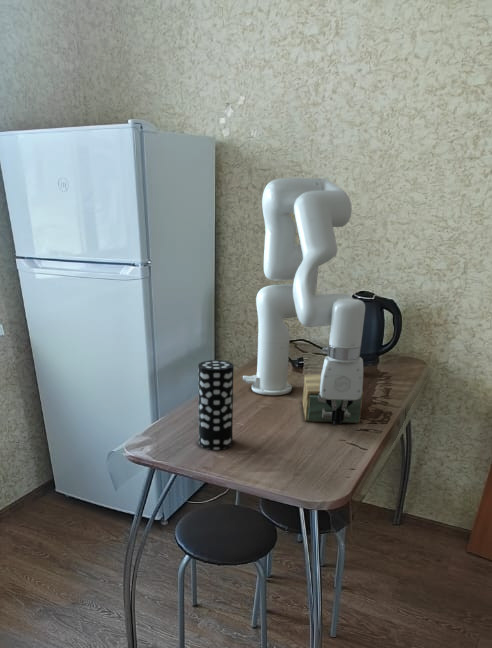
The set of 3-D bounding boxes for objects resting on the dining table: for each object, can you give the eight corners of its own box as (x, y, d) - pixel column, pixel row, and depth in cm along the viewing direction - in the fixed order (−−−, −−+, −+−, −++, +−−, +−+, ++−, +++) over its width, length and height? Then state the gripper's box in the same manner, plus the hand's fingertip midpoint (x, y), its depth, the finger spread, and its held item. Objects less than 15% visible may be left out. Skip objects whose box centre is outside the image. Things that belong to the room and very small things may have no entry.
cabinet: (359, 422, 156) (363, 392, 152) (305, 421, 157) (307, 390, 154) (352, 403, 170) (355, 375, 166) (302, 402, 171) (304, 374, 167)
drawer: (361, 429, 149) (364, 404, 146) (309, 428, 151) (311, 403, 147) (351, 403, 167) (354, 381, 164) (305, 402, 168) (307, 380, 165)
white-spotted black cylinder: (230, 436, 148) (232, 359, 139) (233, 449, 141) (234, 369, 132) (198, 436, 148) (197, 360, 139) (199, 450, 140) (198, 370, 131)
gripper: (313, 356, 137) (308, 427, 145) (378, 357, 135) (368, 429, 144) (312, 348, 143) (306, 417, 152) (373, 349, 142) (364, 419, 150)
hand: (336, 423), depth 148 cm, fingers closed
